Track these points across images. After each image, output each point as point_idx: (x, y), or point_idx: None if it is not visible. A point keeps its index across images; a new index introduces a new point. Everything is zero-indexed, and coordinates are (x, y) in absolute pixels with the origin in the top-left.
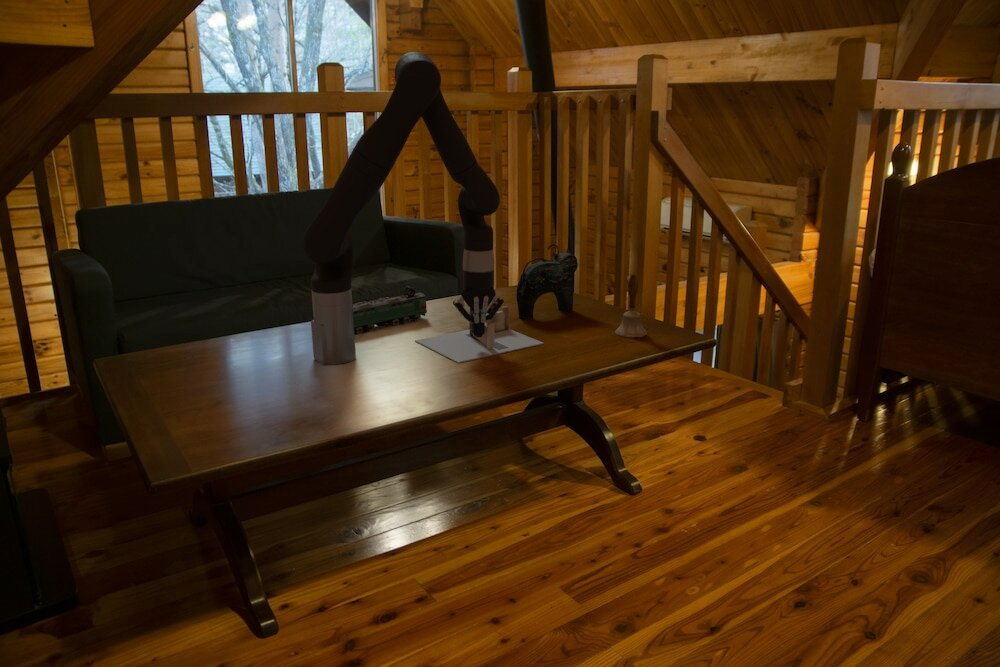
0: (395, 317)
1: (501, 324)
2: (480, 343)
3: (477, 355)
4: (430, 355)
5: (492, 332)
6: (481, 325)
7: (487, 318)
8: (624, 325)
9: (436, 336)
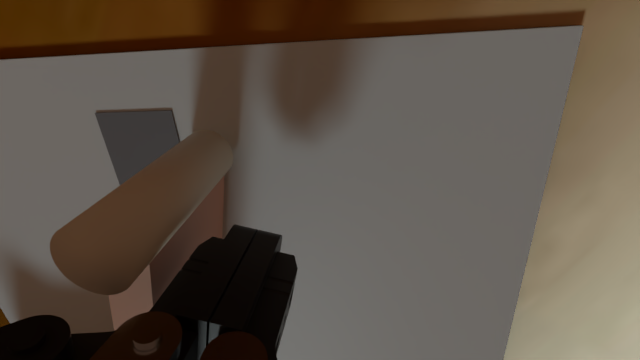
0: None
1: None
2: None
3: (357, 86)
4: (583, 270)
5: (137, 181)
6: (200, 294)
7: (76, 348)
8: None
9: None
